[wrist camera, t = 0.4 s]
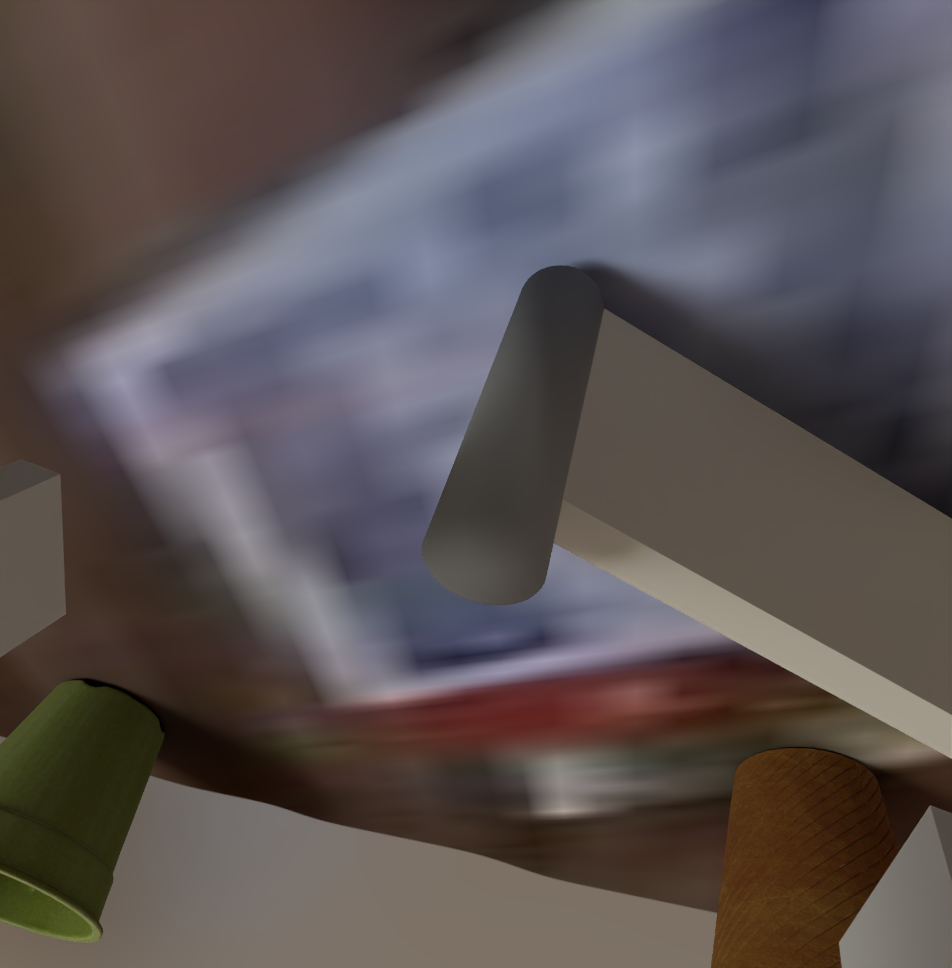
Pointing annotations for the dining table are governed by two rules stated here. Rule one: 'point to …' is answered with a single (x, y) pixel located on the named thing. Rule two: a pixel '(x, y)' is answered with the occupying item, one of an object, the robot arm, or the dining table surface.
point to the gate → (695, 509)
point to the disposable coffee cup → (798, 858)
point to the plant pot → (70, 806)
